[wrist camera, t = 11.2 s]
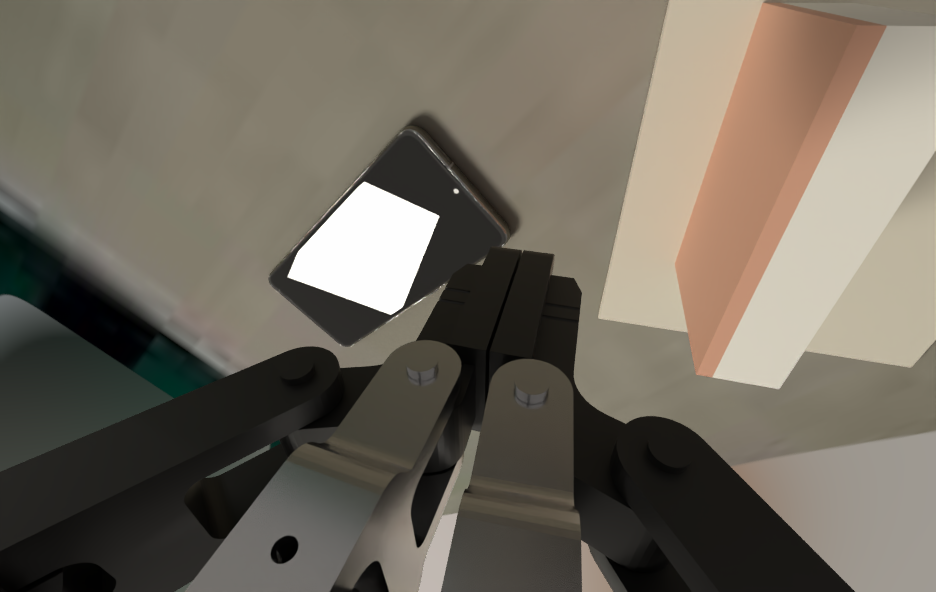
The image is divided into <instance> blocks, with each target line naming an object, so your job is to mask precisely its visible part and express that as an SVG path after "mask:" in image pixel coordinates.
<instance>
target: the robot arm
mask: <svg viewBox="0 0 936 592" xmlns="http://www.w3.org/2000/svg"><path fill="white" fill-rule="evenodd" d="M553 264H554V254H548V253H540V252H533V251H525V250H524V251H523V253H522V250H516V249H508V248H501V247H493V246H492V247H491V248H490V250H489V252H488V254H487V256H486V258H485V261H484V263H483V265H482V266H481V265H474V264H466V265H465V266H463V267H462V268H460V269H459V270H458V271H456V272H455V273H453V274H452V276H451V278H450V280H449V282H448V284H447V285H446V287H445V290H444V291H443V293H442V295H441V296H440V298H439V301H438V302H437V304H436V306H435V307H434V309H433V311H432V313H431V315H430V316H429V318H428V320H427V322H426V324H425V326H424V327H423V329H422V331H421V333H420V335H419V337H418V338H417V340H416V341H414V342H410V343H407V344H405V345H403V346H401V347H399V348H397V349H396V350H395V351H393V352H392V353H391V354H390V356H389V357H388V358H387V359H386V361H385V362H384V364H382V365H377V366H367V367H351V368H340V366H339V362H338V360H337V358H336V356H335V355H334V354H333V353H332V352H330V351H329V350H326V349H324V348H320V347H300V348H296V349H292V350H289V351H287V352H284V353H282V354H279V355H277V356H275V357H272V358H270V359H267V360H265V361H263V362H260V363H258V364H256V365H253V366H251V367H248V368H246V369H244V370H241V371H239V372H237V373H234V374H232V375H229V376H227V377H225V378H222V379H220V380H218V381H215V382H213V383H210V384H208V385H206V386H203V387H201V388H198V389H196V390H194V391H191V392H189V393H187V394H184V395H182V396H179V397H177V398H175V399H172V400H170V401H168V402H166V403H163V404H161V405H158V406H156V407H153V408H151V409H149V410H146V411H144V412H141V413H139V414H137V415H134V416H132V417H130V418H127V419H125V420H123V421H120V422H118V423H115V424H113V425H111V426H108V427H106V428H103V429H101V430H99V431H96V432H94V433H92V434H89V435H87V436H85V437H82V438H80V439H77V440H75V441H73V442H70V443H68V444H65V445H63V446H61V447H58V448H56V449H54V450H51V451H49V452H46V453H44V454H42V455H39V456H37V457H35V458H32V459H30V460H27V461H25V462H23V463H20V464H18V465H15V466H13V467H11V468H8V469H6V470H4V471H1V472H0V592H174V591H176V590H177V589H180V588H181V587H183V586H184V585H186V584H188V583H189V582H191V581H192V583H191V584H190V585H189V587H188V588H187V589H186V590H185V592H418V590H419V586H420V582H421V577H422V570H423V565H424V561H425V558H426V555H427V551H428V549H429V546H430V544H431V542H432V539H433V536H434V534H435V532H436V529H437V527H438V524H439V521H440V519H441V517H442V514H443V512H444V509H445V507H446V504H447V502H448V499H449V497H450V494H451V492H452V489H453V487H454V484H455V482H456V479H457V477H458V475H459V472H460V470H461V467H462V464H463V459H464V451H465V448H466V445H467V442H468V439H469V436H470V433H471V430H475V431H479V432H480V436H479V441H478V446H477V451H476V456H475V461H474V466H473V471H472V475H471V480H470V484H469V487H468V489H465V491H464V493H463V496H462V499H461V503H460V507H459V511H458V515H457V520H456V525H455V529H454V534H453V539H452V544H451V548H450V553H449V557H448V562H447V567H446V571H445V576H444V581H443V586H442V590H441V592H582V572H581V540H582V541H584V542H585V543H587V544H588V546H589V549H590V552H591V554H592V556H593V558H594V560H595V562H596V564H597V565H598V567H599V569H600V570H601V572H602V574H603V575H604V577H605V579H606V580H607V582H608V584H609V585H610V587H611V588H612V590H613V592H855V591H854V590H853V589H852V588H851V587H850V586H849V585H848V584H847V583H845V581H844V580H843V579H842V578H841V577H840V576H839V575H838V574H837V573H836V572H835V571H834V570H833V569H832V568H831V567H830V566H829V565H828V564H827V563H826V562H825V561H824V560H823V559H822V558H821V557H820V556H819V555H818V554H817V553H816V552H814V550H813V549H812V548H811V547H810V546H809V545H808V544H807V543H806V542H805V541H804V540H803V539H802V538H801V537H800V536H799V535H798V534H797V533H796V532H795V531H794V530H793V529H792V528H791V527H790V526H789V525H788V524H787V523H786V522H785V521H784V520H783V519H782V518H781V517H780V516H779V515H778V514H777V513H776V512H775V511H774V510H773V509H772V508H771V507H770V506H769V505H768V504H767V503H766V502H765V501H764V500H763V499H762V498H761V497H760V496H759V495H758V494H757V493H756V492H755V491H754V490H753V489H752V488H751V487H750V486H749V485H748V484H747V483H746V482H745V481H744V480H743V479H742V478H741V477H740V476H739V475H738V474H737V473H736V472H735V471H734V470H733V469H732V468H731V467H730V466H729V465H728V464H727V463H726V462H725V461H724V460H723V459H722V458H721V457H720V456H719V455H718V454H717V453H716V452H715V451H714V450H713V449H712V448H711V447H710V446H709V445H708V444H707V443H706V442H705V441H704V440H703V439H702V438H701V437H700V436H699V435H698V434H696V433H695V432H694V431H692V430H691V429H689V428H688V427H686V426H684V425H682V424H680V423H678V422H676V421H673V420H670V419H667V418H662V417H656V416H646V417H640V418H636V419H634V420H632V421H630V422H628V423H627V424H625V423H622V422H620V421H618V420H616V419H614V418H612V417H610V416H608V415H606V414H604V413H602V412H601V411H599V410H597V409H596V408H594V407H593V406H592V405H590V404H589V403H588V402H587V401H586V400H585V399H584V398H583V397H582V395H581V394H580V392H579V391H578V389H577V387H576V385H575V382H574V363H575V353H576V344H577V334H578V323H579V315H580V305H581V296H582V292H581V290H580V288H579V287H578V285H577V283H576V281H575V279H574V278H568V277H561V276H554V275H552V272H553ZM277 440H280V443H281V444H279V445H277V446H275V447H273V448H271V449H270V450H268V451H266V452H264V453H262V454H260V455H258V456H256V457H255V458H252V459H250V460H248V461H246V462H244V463H243V464H241V465H239V466H237V467H235V468H233V469H231V470H229V471H227V472H225V473H223V474H221V475H219V476H216V477H212V478H205V477H207V476H209V475H211V474H213V473H215V472H217V471H218V470H220V469H222V468H224V467H226V466H228V465H230V464H232V463H234V462H236V461H238V460H240V459H242V458H243V457H246V456H247V455H250V454H252V453H254V452H256V451H257V450H259V449H261V448H263V447H265V446H267V445H269V444H271V443H273V442H275V441H277Z"/></svg>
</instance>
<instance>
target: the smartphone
mask: <svg viewBox="0 0 936 592" xmlns="http://www.w3.org/2000/svg"><path fill="white" fill-rule="evenodd" d="M509 237H510V229H509V227H508V225H507V224H506V222H505V221H504V220H503V219H502V218H501V217H500V215H499V214H498V213H497V212H496V211H495V210H494V209H493V207H492V206H491V205H490V204H489V203H488V202H487V201H486V199H485V198H484V197H483V196H482V195H481V194H480V193H479V191H478V190H477V189H476V188H475V187H474V186H473V185H472V183H471V182H470V181H469V180H468V179H467V178H466V177H465V175H464V174H463V173H462V172H461V171H460V170H459V169H458V167H457V166H456V165H455V164H454V163H453V162H452V161H451V159H450V158H449V157H448V156H447V155H446V154H445V153H444V151H443V150H442V149H441V148H440V147H439V146H438V145H437V143H436V142H435V141H434V140H433V139H432V138H431V137H430V136H429V134H428V133H427V132H426V131H425V130H424V129H422V128H421V127H419V126H415V125H411V126H407V127H405V128H404V129H403V130H402V131H401V132H400V133H399V134H398V135H397V136H396V137H395V138H394V139H393V140H392V141H391V142H390V143H389V145H388V146H387V147H386V148H385V149H384V150H383V151H382V152H381V153H380V154H379V155H378V157H377V158H376V159H375V160H374V161H373V162H372V163H371V164H370V165H369V166H368V167H367V168H366V170H365V171H364V172H363V173H362V174H361V175H360V176H359V177H358V178H357V179H356V180H355V182H354V183H353V184H352V185H351V186H350V187H349V188H348V189H347V190H346V191H345V192H344V194H343V195H342V196H341V197H340V198H339V199H338V200H337V201H336V202H335V203H334V204H333V205H332V207H331V208H330V209H329V210H328V211H327V212H326V213H325V214H324V215H323V216H322V217H321V219H320V220H319V221H318V222H317V223H316V224H315V225H314V226H313V227H312V228H311V229H310V231H309V232H308V233H307V234H306V235H305V236H304V237H303V238H302V239H301V240H300V241H299V242H298V244H297V245H296V246H295V247H294V248H293V249H292V250H291V251H290V252H289V253H288V254H287V256H286V257H285V258H284V259H283V260H282V261H281V262H280V263H279V264H278V265H277V266H276V268H275V269H274V270H273V271H272V272H271V273H270V275H269V278H268V279H269V283H270V285H271V286H272V287H273V288H274V289H275V290H277V291H278V292H279V293H280V294H281V295H282V296H284V297H285V298H286V299H287V300H288V301H289V302H291V303H292V304H293V305H294V306H295V307H296V308H298V309H299V310H300V311H301V312H302V313H304V314H305V315H306V316H307V317H308V318H309V319H311V320H312V321H313V322H314V323H315V324H316V325H318V326H319V327H320V328H321V329H322V330H323V331H325V332H326V333H327V334H328V335H329V336H330V337H332V338H333V339H334V340H335V341H336V342H337V343H339V344H340V345H342V346H345V347H350V346H352V345H354V344H355V343H357V342H359V341H360V340H362V339H363V338H365V337H366V336H368V335H369V334H371V333H372V332H374V331H375V330H377V329H378V328H380V327H381V326H383V325H384V324H386V323H387V322H389V321H390V320H392V319H393V318H395V317H396V316H398V315H399V314H401V313H402V312H404V311H405V310H407V309H408V308H410V307H412V306H413V305H415V304H416V303H418V302H419V301H421V300H422V299H424V298H425V297H427V296H428V295H431V294H432V293H434V292H435V291H437V290H438V289H439V288H440V287H442V286H443V285H445V284H446V283H448V282H449V280H450V278H451V276H452V274H453V273H455V272H456V271H458V270H459V269H460V268H462V267H463V266H465V265H466V264H474V265H475V264H477V263H478V262H480V261H481V260H483V259H484V258H486V256H487V254H488V252H489V250H490V248H491V247H492V246H493V247H502V246H504V245H505V244H506V243H507V242H508V240H509Z"/></svg>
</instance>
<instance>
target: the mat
mask: <svg viewBox="0 0 936 592" xmlns="http://www.w3.org/2000/svg"><path fill="white" fill-rule="evenodd" d="M762 3H859V4H865V5H872V6H879V7H886V8H892V9H899V10H906V11H912V12H919V13H926V14H932V15H936V0H669V2H668V6H667V11H666V15H665V20H664V24H663V28H662V33H661V37H660V42H659V46H658V51H657V55H656V60H655V64H654V69H653V73H652V77H651V82H650V86H649V91H648V95H647V100H646V104H645V109H644V113H643V118H642V122H641V126H640V131H639V135H638V140H637V144H636V149H635V153H634V158H633V162H632V167H631V171H630V175H629V180H628V184H627V189H626V193H625V198H624V202H623V207H622V211H621V216H620V220H619V224H618V229H617V233H616V238H615V242H614V247H613V251H612V256H611V260H610V265H609V269H608V274H607V278H606V282H605V287H604V291H603V296H602V300H601V305H600V309H599V314H598V318H599V319H606V320H612V321H618V322H625V323H631V324H638V325H644V326H650V327H657V328H663V329H669V330H676V331H682V332H688V330H687V325H686V320H685V315H684V310H683V305H682V300H681V294H680V289H679V284H678V279H677V274H676V269H675V262H676V259H677V256H678V253H679V250H680V247H681V244H682V241H683V238H684V235H685V232H686V229H687V226H688V223H689V220H690V217H691V214H692V211H693V208H694V205H695V202H696V199H697V196H698V193H699V190H700V187H701V184H702V181H703V178H704V175H705V172H706V169H707V166H708V164H709V161H710V158H711V155H712V152H713V149H714V146H715V143H716V140H717V137H718V134H719V131H720V128H721V125H722V122H723V119H724V116H725V113H726V110H727V107H728V104H729V101H730V98H731V95H732V92H733V89H734V86H735V83H736V80H737V77H738V74H739V71H740V68H741V66H742V63H743V60H744V57H745V54H746V51H747V48H748V45H749V42H750V39H751V36H752V33H753V30H754V27H755V24H756V21H757V18H758V15H759V12H760V9H761V6H762ZM935 340H936V151H935V152H934V154H933V156H932V157H931V159H930V160H929V162H928V163H927V165H926V166H925V168H924V169H923V171H922V172H921V174H920V175H919V177H918V178H917V180H916V181H915V183H914V184H913V186H912V188H911V189H910V191H909V192H908V194H907V195H906V197H905V198H904V200H903V201H902V203H901V204H900V206H899V207H898V209H897V210H896V212H895V213H894V215H893V217H892V218H891V220H890V221H889V223H888V224H887V226H886V227H885V229H884V230H883V232H882V233H881V235H880V236H879V238H878V239H877V241H876V242H875V244H874V245H873V247H872V249H871V250H870V252H869V253H868V255H867V256H866V258H865V259H864V261H863V262H862V264H861V265H860V267H859V268H858V270H857V271H856V273H855V274H854V276H853V278H852V279H851V281H850V282H849V284H848V285H847V287H846V288H845V290H844V291H843V293H842V294H841V296H840V297H839V299H838V300H837V302H836V303H835V305H834V306H833V308H832V310H831V311H830V313H829V314H828V316H827V317H826V319H825V320H824V322H823V323H822V325H821V326H820V328H819V329H818V331H817V332H816V334H815V335H814V337H813V339H812V340H811V342H810V343H809V345H808V346H807V348H806V349H805V351H809V352H815V353H821V354H828V355H834V356H840V357H847V358H853V359H860V360H866V361H872V362H879V363H885V364H891V365H898V366H904V367H910V368H911V367H912V366H913V365H914V364H915V363H916V361H917V360H918V359H919V358H920V357H921V356H922V355H923V354H924V353H925V351H926V350H927V349H928V348H929V347H930V346H931V345H932V344H933V342H934V341H935Z"/></svg>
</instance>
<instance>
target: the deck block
mask: <svg viewBox="0 0 936 592" xmlns="http://www.w3.org/2000/svg"><path fill="white" fill-rule="evenodd" d="M935 151H936V15H932V14H926V13H919V12H912V11H906V10H899V9H892V8H886V7H879V6H872V5H865V4H859V3H762V6H761V9H760V12H759V15H758V18H757V21H756V24H755V27H754V30H753V33H752V36H751V39H750V42H749V45H748V48H747V51H746V54H745V57H744V60H743V63H742V66H741V68H740V71H739V74H738V77H737V80H736V83H735V86H734V89H733V92H732V95H731V98H730V101H729V104H728V107H727V110H726V113H725V116H724V119H723V122H722V125H721V128H720V131H719V134H718V137H717V140H716V143H715V146H714V149H713V152H712V155H711V158H710V161H709V164H708V166H707V169H706V172H705V175H704V178H703V181H702V184H701V187H700V190H699V193H698V196H697V199H696V202H695V205H694V208H693V211H692V214H691V217H690V220H689V223H688V226H687V229H686V232H685V235H684V238H683V241H682V244H681V247H680V250H679V253H678V256H677V259H676V262H675V269H676V274H677V279H678V284H679V289H680V294H681V300H682V305H683V310H684V315H685V320H686V325H687V330H688V335H689V340H690V345H691V351H692V356H693V361H694V366H695V371H696V375H702V376H708V377H713V378H719V379H725V380H730V381H736V382H741V383H747V384H753V385H758V386H764V387H770V388H775V389H780V387H781V386H782V384H783V383H784V381H785V380H786V378H787V377H788V375H789V374H790V372H791V371H792V369H793V367H794V366H795V364H796V363H797V361H798V360H799V358H800V357H801V355H802V354H803V352H804V351H805V349H806V348H807V346H808V345H809V343H810V342H811V340H812V339H813V337H814V335H815V334H816V332H817V331H818V329H819V328H820V326H821V325H822V323H823V322H824V320H825V319H826V317H827V316H828V314H829V313H830V311H831V310H832V308H833V306H834V305H835V303H836V302H837V300H838V299H839V297H840V296H841V294H842V293H843V291H844V290H845V288H846V287H847V285H848V284H849V282H850V281H851V279H852V278H853V276H854V274H855V273H856V271H857V270H858V268H859V267H860V265H861V264H862V262H863V261H864V259H865V258H866V256H867V255H868V253H869V252H870V250H871V249H872V247H873V245H874V244H875V242H876V241H877V239H878V238H879V236H880V235H881V233H882V232H883V230H884V229H885V227H886V226H887V224H888V223H889V221H890V220H891V218H892V217H893V215H894V213H895V212H896V210H897V209H898V207H899V206H900V204H901V203H902V201H903V200H904V198H905V197H906V195H907V194H908V192H909V191H910V189H911V188H912V186H913V184H914V183H915V181H916V180H917V178H918V177H919V175H920V174H921V172H922V171H923V169H924V168H925V166H926V165H927V163H928V162H929V160H930V159H931V157H932V156H933V154H934V152H935Z"/></svg>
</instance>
